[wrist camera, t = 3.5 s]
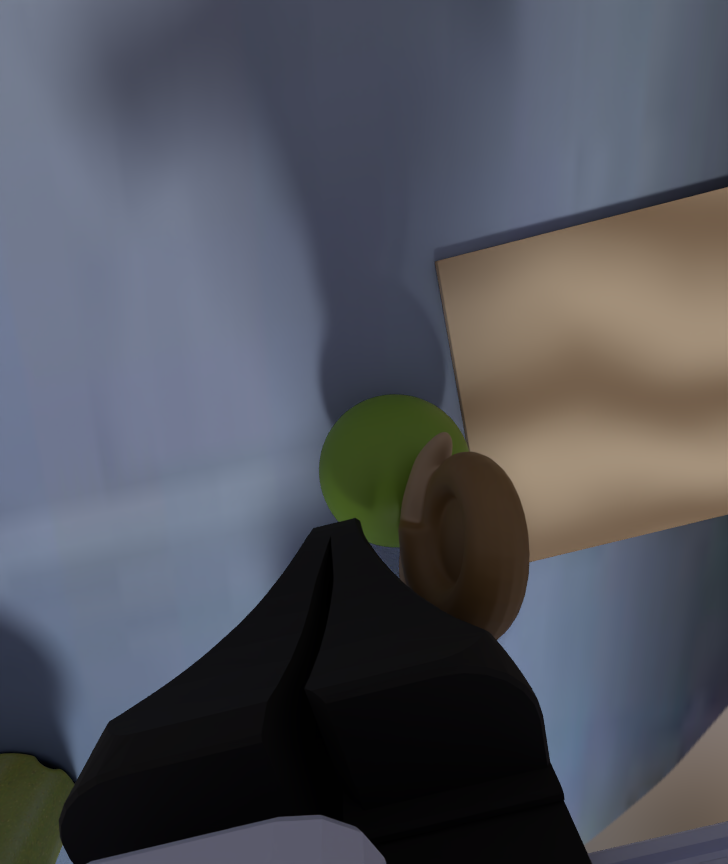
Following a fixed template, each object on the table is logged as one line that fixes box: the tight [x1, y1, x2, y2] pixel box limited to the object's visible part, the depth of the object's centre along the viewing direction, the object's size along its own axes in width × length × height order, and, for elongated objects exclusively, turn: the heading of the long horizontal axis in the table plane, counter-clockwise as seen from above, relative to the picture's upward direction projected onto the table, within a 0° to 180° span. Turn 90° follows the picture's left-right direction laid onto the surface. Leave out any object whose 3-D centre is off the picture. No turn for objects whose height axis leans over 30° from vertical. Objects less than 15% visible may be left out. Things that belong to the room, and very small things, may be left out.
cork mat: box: [435, 187, 728, 562], centre depth 18 cm, size 14×12×1 cm
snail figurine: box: [319, 394, 530, 640], centre depth 12 cm, size 5×6×12 cm
